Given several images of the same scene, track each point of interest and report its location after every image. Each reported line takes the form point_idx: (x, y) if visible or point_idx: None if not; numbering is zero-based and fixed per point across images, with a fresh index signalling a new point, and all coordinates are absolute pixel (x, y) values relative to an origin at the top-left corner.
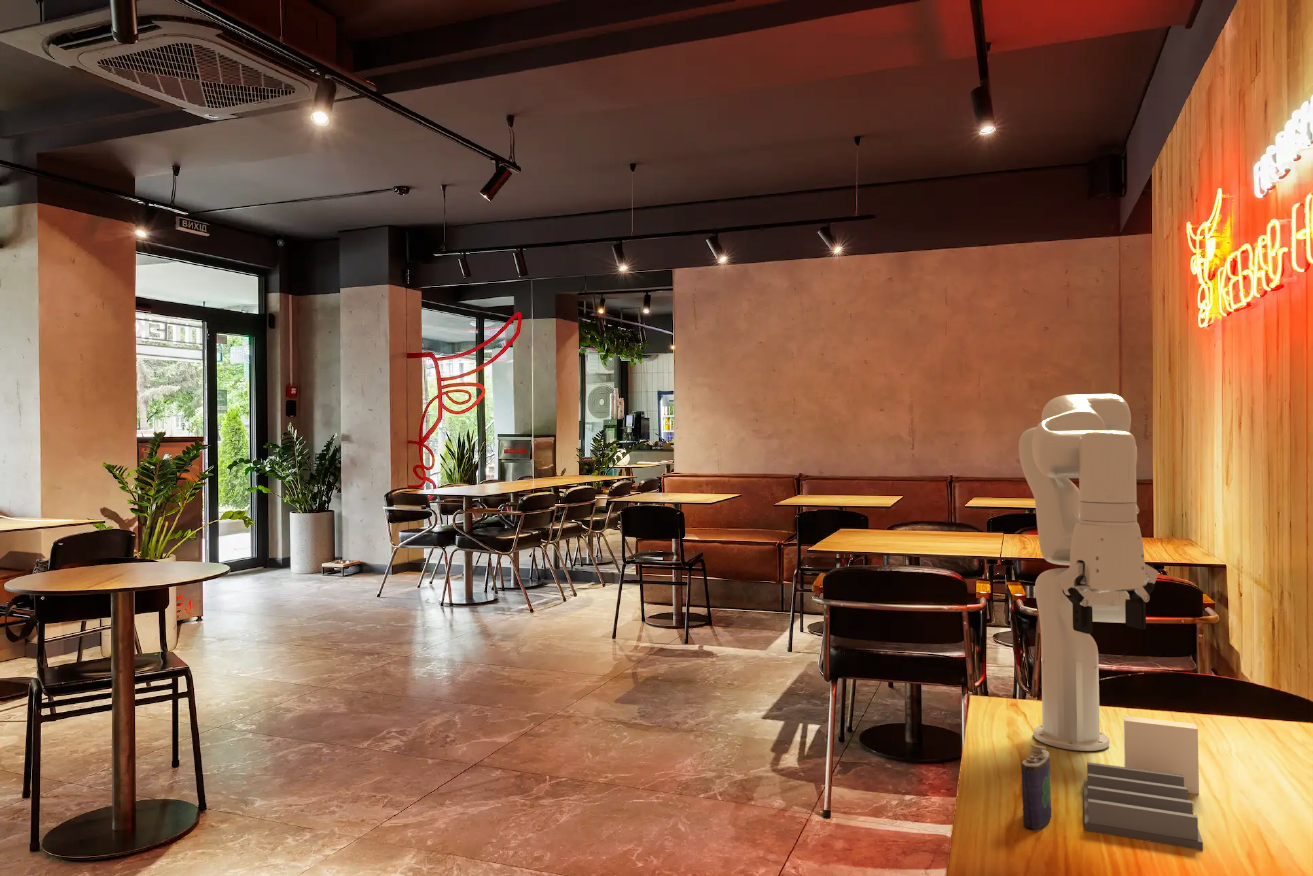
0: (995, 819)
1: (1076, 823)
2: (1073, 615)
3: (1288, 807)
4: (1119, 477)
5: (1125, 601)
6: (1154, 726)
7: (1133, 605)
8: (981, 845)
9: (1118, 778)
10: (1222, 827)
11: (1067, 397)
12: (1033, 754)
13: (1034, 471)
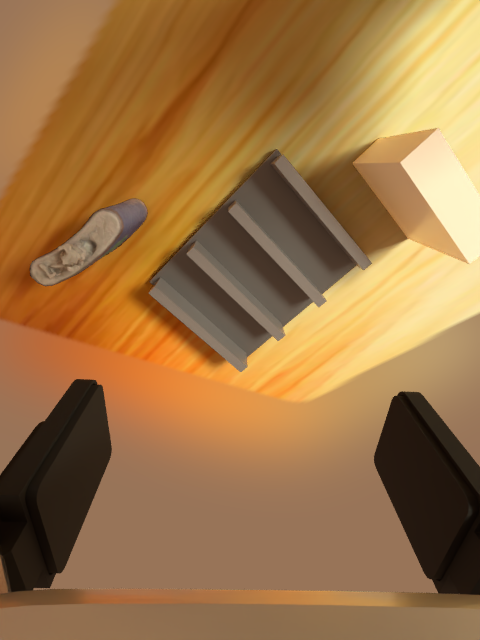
0: (51, 208)
1: (157, 258)
2: (16, 459)
3: (458, 310)
4: None
5: (464, 500)
6: (429, 207)
7: (435, 527)
8: None
9: (264, 240)
10: (320, 325)
11: None
12: (60, 258)
13: None
